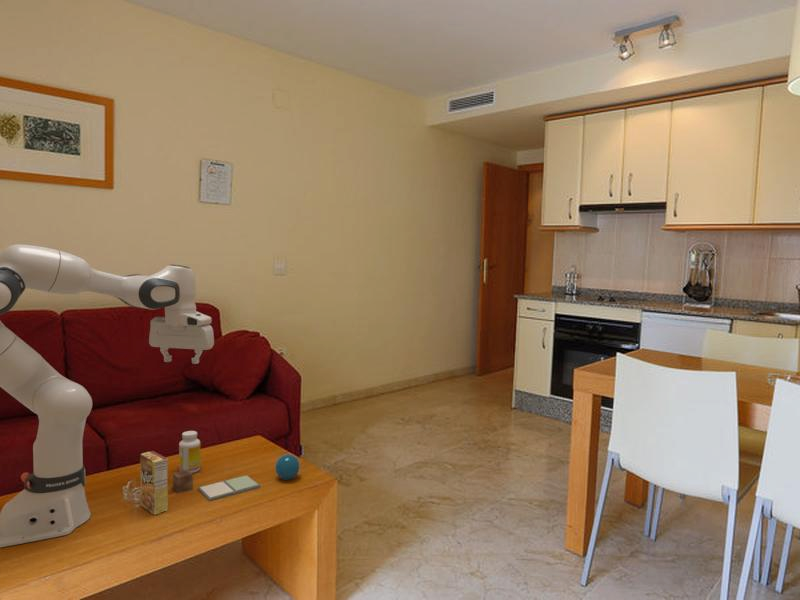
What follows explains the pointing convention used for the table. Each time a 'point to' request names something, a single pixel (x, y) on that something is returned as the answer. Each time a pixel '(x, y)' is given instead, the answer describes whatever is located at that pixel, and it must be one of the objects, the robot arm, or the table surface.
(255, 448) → the table surface
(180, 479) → the walnut token
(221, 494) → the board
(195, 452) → the supplement bottle
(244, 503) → the table surface
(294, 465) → the ball
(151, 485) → the candy box
